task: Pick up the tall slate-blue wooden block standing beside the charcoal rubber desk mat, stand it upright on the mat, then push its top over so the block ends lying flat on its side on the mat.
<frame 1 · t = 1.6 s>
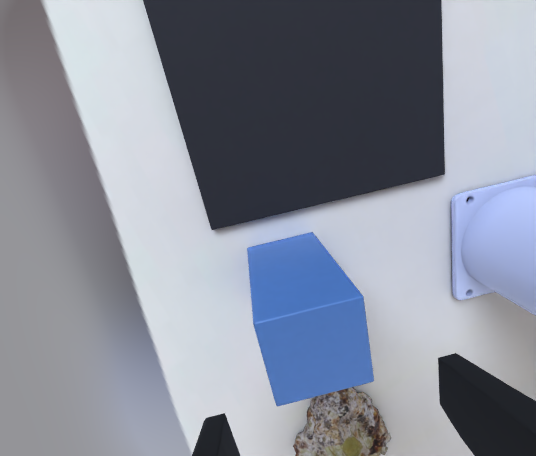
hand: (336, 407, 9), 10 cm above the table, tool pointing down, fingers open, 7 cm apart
mineral rock: (338, 424, 24), on the table
blue block: (286, 269, 19), on the table
desk mat: (299, 18, 15), on the table
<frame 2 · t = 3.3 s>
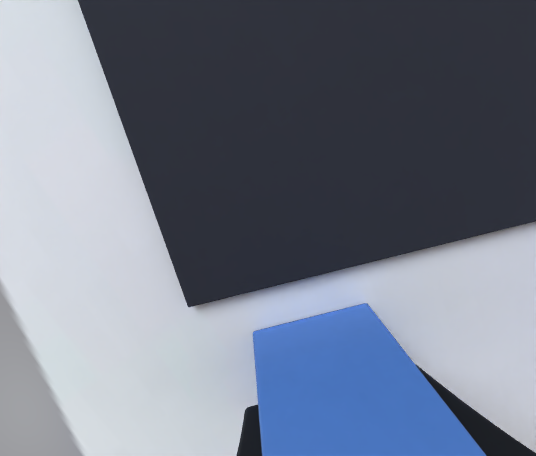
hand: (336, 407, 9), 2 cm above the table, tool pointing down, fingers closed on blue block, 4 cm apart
blue block: (319, 362, 11), on the table, touching gripper
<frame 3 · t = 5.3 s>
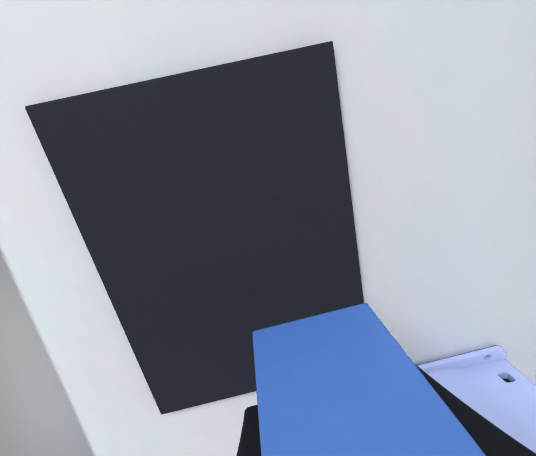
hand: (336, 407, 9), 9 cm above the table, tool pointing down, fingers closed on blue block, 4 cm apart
blue block: (318, 362, 11), point 7 cm above the table, touching gripper
desk mat: (232, 257, 17), on the table
when the fingers open (2 cm above the table, at t = 7.5 s): blue block stays where it is, resting on desk mat.
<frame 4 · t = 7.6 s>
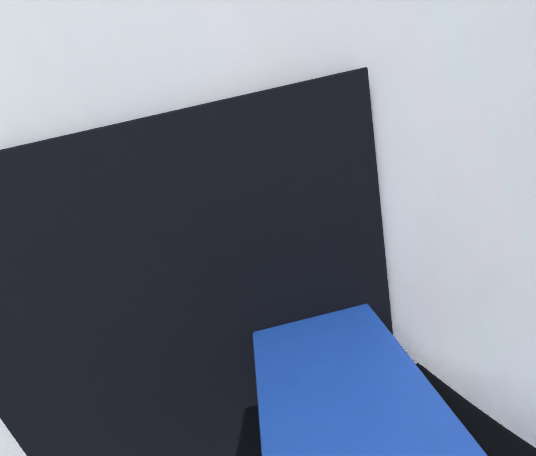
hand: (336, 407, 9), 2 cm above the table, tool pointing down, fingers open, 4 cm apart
blue block: (319, 363, 11), resting on desk mat
desk mat: (209, 384, 11), on the table
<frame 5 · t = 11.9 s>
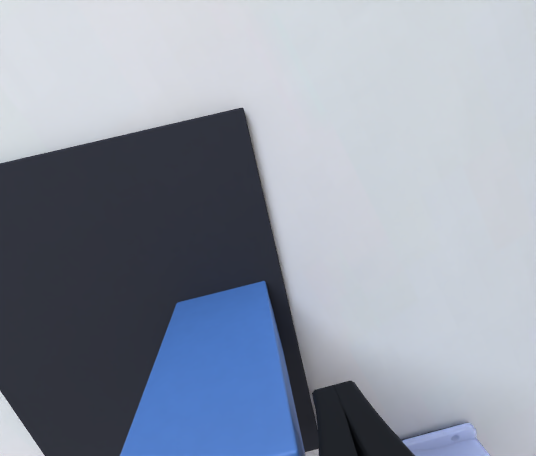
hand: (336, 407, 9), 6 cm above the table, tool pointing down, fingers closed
blue block: (232, 328, 14), resting on desk mat, touching gripper
desk mat: (149, 345, 15), on the table
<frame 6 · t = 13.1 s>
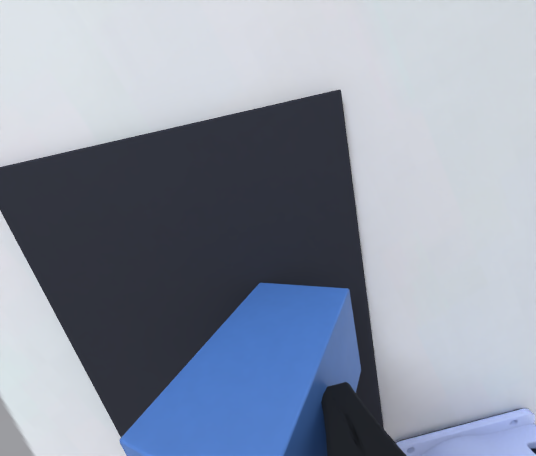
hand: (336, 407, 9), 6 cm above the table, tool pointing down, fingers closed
blue block: (309, 324, 14), point 2 cm above the table, tilted 33°, touching desk mat, gripper
desk mat: (227, 325, 15), on the table
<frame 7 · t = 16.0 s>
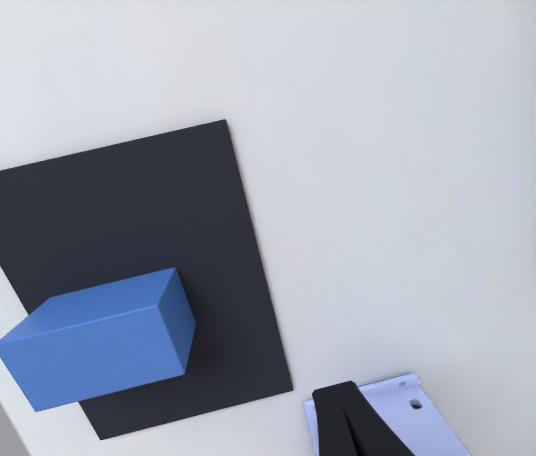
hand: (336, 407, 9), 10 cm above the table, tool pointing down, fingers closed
blue block: (180, 316, 17), point 3 cm above the table, tilted 90°, touching desk mat
desk mat: (154, 301, 19), on the table
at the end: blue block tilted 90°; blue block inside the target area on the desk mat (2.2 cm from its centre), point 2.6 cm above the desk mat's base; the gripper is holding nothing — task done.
